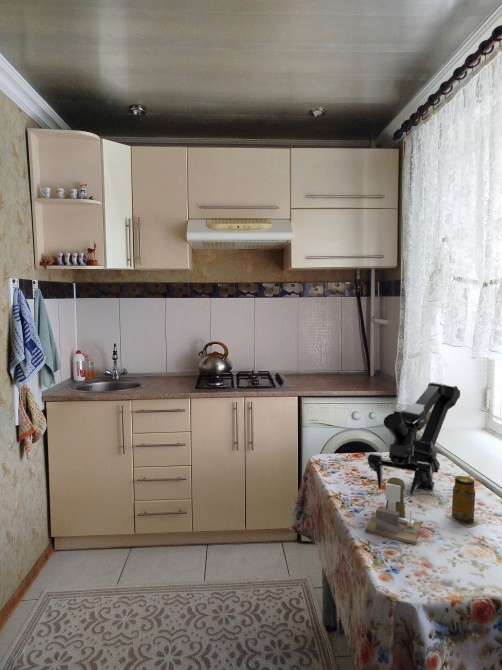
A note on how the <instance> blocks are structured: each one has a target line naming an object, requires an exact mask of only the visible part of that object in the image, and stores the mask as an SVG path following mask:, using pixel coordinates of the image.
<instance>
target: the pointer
mask: <svg viewBox="0 0 502 670" xmlns="http://www.w3.org/2000/svg"><path fill="white" fill-rule="evenodd" d="M412 511H413V509H409V520H410V521H408V522H407V526H411V527H413V526H414V522H415V521H414V522H412V521H411V520H412V514H413V512H412Z"/></svg>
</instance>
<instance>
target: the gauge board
mask: <svg viewBox="0 0 502 670" xmlns="http://www.w3.org/2000/svg"><path fill="white" fill-rule="evenodd" d="M421 528H422V523H421V522H418V521H414V526H413V527H411V526H407V523H403V522H399V512H396V511H392V510H387V509H385V508H382V507H378V506H377V507H376V510H375V512H373V514H372V516H371V518H370V519H369V521H368V523H367V525H366V527H365V528H364V532H365V533H367V534H372V535H376V536H380V537H384V538H387V539H392V540H396V541H400V542H404V543H408V544H412V545H416V544H417V542H418V538H419V535H420V531H421Z"/></svg>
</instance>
